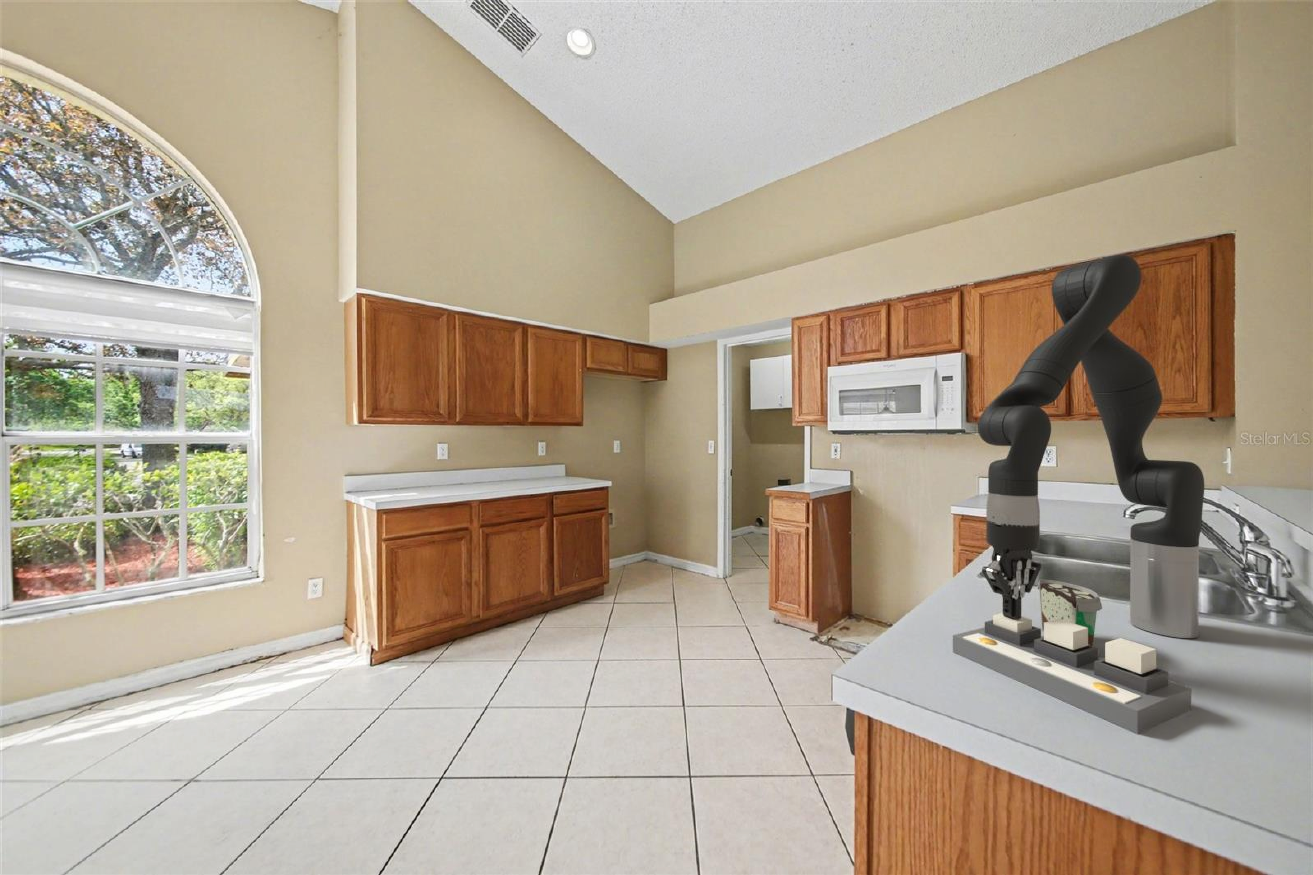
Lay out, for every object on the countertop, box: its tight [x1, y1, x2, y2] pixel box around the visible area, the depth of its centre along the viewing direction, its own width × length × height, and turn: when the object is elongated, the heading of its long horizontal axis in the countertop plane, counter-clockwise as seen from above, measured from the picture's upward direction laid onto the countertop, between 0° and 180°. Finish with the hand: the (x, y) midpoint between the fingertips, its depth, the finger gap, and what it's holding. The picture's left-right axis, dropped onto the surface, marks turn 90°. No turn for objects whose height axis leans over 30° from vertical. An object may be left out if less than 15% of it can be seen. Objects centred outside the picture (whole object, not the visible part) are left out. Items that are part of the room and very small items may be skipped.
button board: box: [952, 619, 1192, 735], centre depth 76 cm, size 14×25×5 cm, turn 22°
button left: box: [992, 612, 1033, 633], centre depth 84 cm, size 4×4×3 cm
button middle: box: [1043, 619, 1088, 650], centre depth 76 cm, size 4×4×3 cm
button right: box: [1104, 637, 1157, 674], centre depth 69 cm, size 4×4×3 cm
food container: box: [1037, 579, 1103, 647], centre depth 88 cm, size 12×6×10 cm, turn 168°
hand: (1011, 617), depth 84 cm, fingers closed
